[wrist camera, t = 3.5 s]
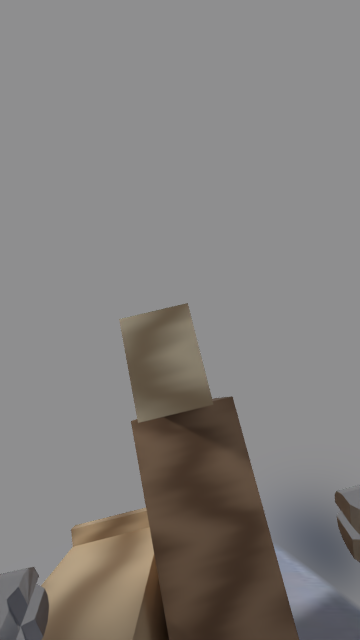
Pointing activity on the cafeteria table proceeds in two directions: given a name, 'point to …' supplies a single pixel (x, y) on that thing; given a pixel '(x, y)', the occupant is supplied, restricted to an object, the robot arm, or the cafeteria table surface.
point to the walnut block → (210, 529)
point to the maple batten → (164, 363)
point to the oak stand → (107, 584)
